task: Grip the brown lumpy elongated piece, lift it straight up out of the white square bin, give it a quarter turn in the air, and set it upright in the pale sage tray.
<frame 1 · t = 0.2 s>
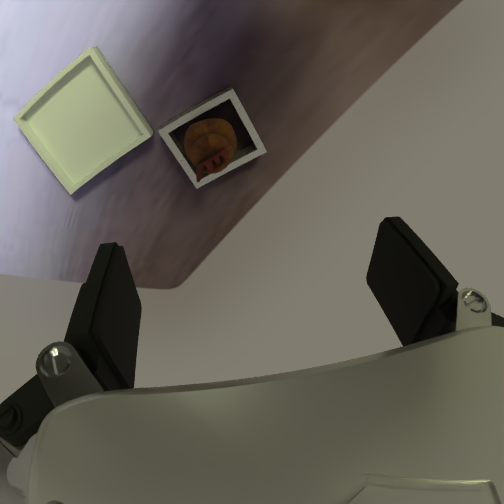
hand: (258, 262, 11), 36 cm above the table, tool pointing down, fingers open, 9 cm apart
sage tray: (82, 120, 38), on the table
white square bin: (212, 134, 43), on the table
brown lumpy elongated piece: (209, 132, 43), resting in white square bin
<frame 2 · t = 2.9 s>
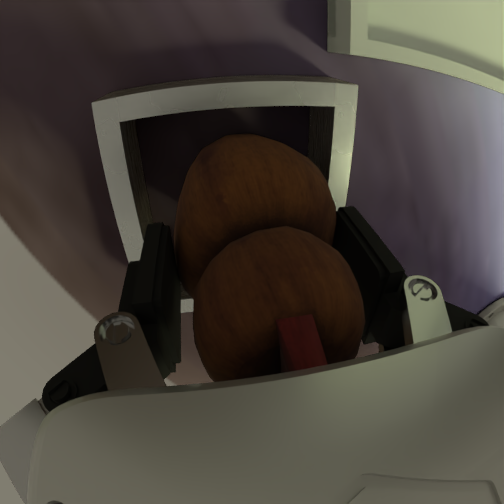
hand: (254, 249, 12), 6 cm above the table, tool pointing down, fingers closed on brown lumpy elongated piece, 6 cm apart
white square bin: (227, 186, 16), on the table
brown lumpy elongated piece: (236, 178, 16), resting in white square bin, touching gripper
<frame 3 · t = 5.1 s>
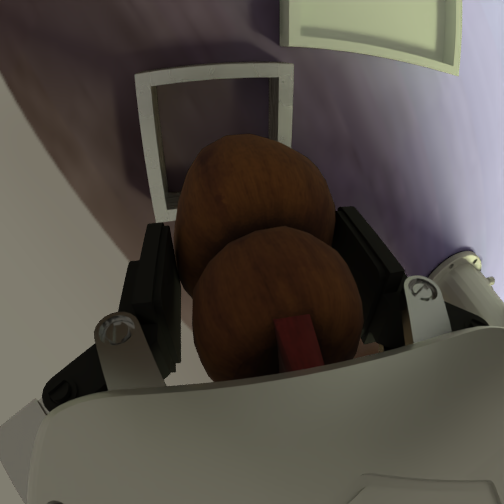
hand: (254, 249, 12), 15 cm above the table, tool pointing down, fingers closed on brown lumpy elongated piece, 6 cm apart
white square bin: (215, 133, 23), on the table
brown lumpy elongated piece: (236, 179, 16), point 9 cm above the table, touching gripper
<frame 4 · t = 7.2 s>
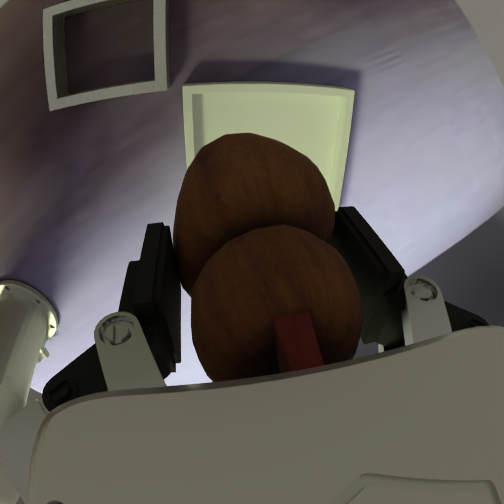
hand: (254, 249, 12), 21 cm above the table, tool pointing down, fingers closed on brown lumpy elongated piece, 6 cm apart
sage tray: (265, 156, 32), on the table
white square bin: (109, 44, 22), on the table
brown lumpy elongated piece: (235, 178, 16), point 16 cm above the table, touching gripper
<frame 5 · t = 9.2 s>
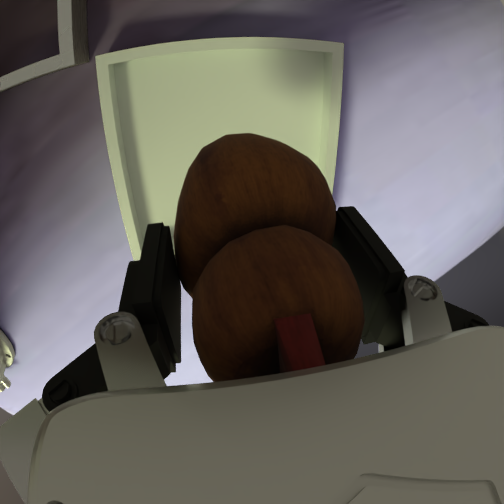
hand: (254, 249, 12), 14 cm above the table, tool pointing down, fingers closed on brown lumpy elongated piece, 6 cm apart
sage tray: (223, 144, 22), on the table
white square bin: (20, 23, 13), on the table
brown lumpy elongated piece: (236, 178, 16), point 8 cm above the table, touching gripper
when the fingers open (7 cm above the table, at t = 11.2 s): brown lumpy elongated piece stays where it is, resting on sage tray.
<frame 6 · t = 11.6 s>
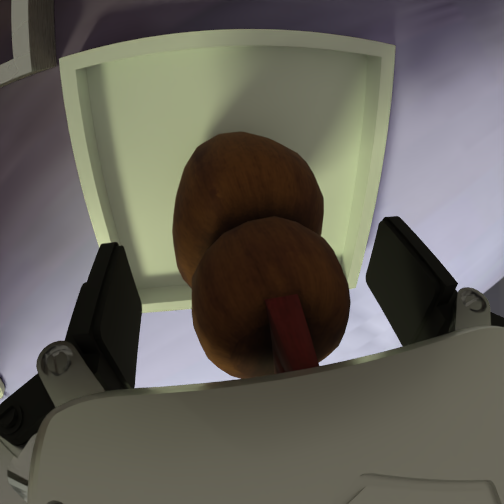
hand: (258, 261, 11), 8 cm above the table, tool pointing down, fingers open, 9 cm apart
sage tray: (233, 172, 18), on the table
brown lumpy elongated piece: (230, 174, 17), point 1 cm above the table, touching sage tray
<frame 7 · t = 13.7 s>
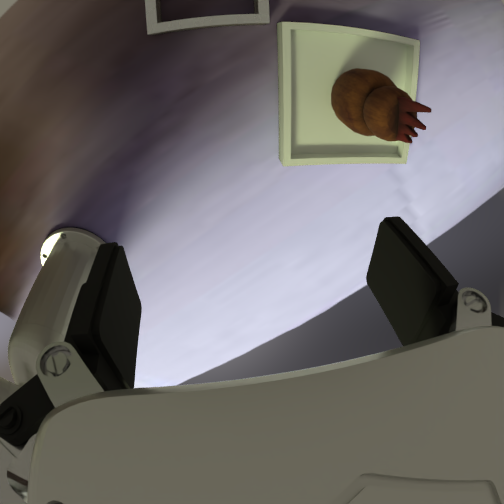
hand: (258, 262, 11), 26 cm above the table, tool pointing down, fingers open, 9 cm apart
sage tray: (346, 93, 31), on the table
brown lumpy elongated piece: (347, 92, 30), point 1 cm above the table, touching sage tray
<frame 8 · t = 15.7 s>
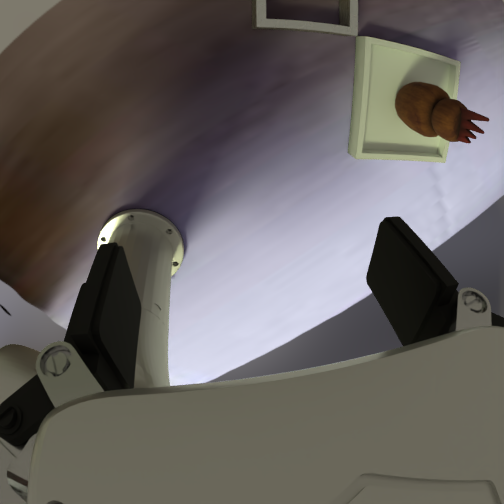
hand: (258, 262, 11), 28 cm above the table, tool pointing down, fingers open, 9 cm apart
sage tray: (403, 101, 35), on the table
brown lumpy elongated piece: (405, 100, 34), point 1 cm above the table, touching sage tray
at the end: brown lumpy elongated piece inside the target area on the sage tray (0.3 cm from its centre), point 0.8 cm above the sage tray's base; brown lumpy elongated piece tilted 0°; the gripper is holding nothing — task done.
